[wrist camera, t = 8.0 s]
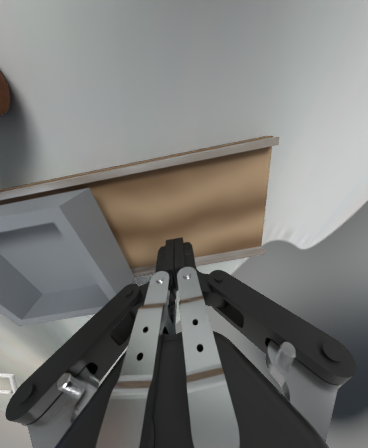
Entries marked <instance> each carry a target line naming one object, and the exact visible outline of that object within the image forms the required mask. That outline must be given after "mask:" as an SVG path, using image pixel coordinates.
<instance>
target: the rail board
mask: <svg viewBox="0 0 368 448" xmlns="http://www.w3.org/2000/svg"><path fill="white" fill-rule="evenodd" d="M278 143H279V137H273V136H263V137H259V138H254V139H249V140H244V141H239V142H234V143H229V144H224V145H219V146H214V147H209V148H204V149H199V150H194V151H189V152H184V153H179V154H174V155H170V156H165V157H160V158H155V159H150V160H145V161H140V162H135V163H130V164H125V165H120V166H115V167H110V168H105V169H100V170H95V171H90V172H86V173H81V174H76V175H71V176H66V177H61V178H56V179H51V180H46V181H41V182H36V183H31V184H26V185H21V186H16V187H11V188H6V189H1V190H0V205H5V204H10V203H15V202H20V201H25V200H30V199H35V198H40V197H45V196H50V195H55V194H60V193H65V192H70V191H75V190H81V189H86V188H90V190H91V192H92V194H93V196H94V197H95V198H96V200H97V204H98V206H99V208H100V210H101V212H102V214H103V216H104V218H105V220H106V222H107V223H108V225H109V227H110V229H111V231H112V233H113V235H114V237H115V239H116V241H117V243H118V245H119V247H120V249H121V251H122V253H123V255H124V257H125V259H126V260H127V262H128V265H129V267H130V269H131V271H132V273H133V275H134V277H135V276H141V275H147V274H153V273H155V269H156V262H157V255H158V250H159V249H160V247H162V246H165V244H166V240H169V239H175V238H180V237H183V241H184V243H185V242H190V243H191V244H192V247H193V253H194V258H195V264H196V266H199V265H205V264H211V263H217V262H223V261H229V260H234V259H240V258H246V257H252V256H257V255H263V254H265V250H264V249H263V248H262V247H261V243H262V234H263V224H264V215H265V206H266V196H267V187H268V178H269V168H270V159H271V150H272V146H275V145H278Z"/></svg>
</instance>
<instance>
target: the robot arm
mask: <svg viewBox="0 0 368 448" xmlns="http://www.w3.org/2000/svg"><path fill="white" fill-rule="evenodd" d="M177 290H179V298H180V302H179V309H180V318H181V326H182V332H180V333H178V334H176V329H175V324H176V307H177V298H176V291H177ZM206 305H208V306H212V307H213V308H214V309H215V310H216V311H217V312H218V313H219V314H220V315H221V316H223V317H224V318H225V319H226V320H227V321H228V322H230V323H231V324H232V325H233V326H234V327H235V328H236V329H237V330H239V331H240V332H241V333H242V334H243V335H244V336H246V337H247V338H248V339H249V340H250V341H251V342H253V343H254V344H255V345H256V346H257V347H258V348H259V349H260V350H262V351H263V352H264V353H265V354H266V357H265V358H266V359H265V360H266V365H267V368H268V370H269V372H270V373H271V375H272V376H273V377H274V378H275V379H276V380H277V382H278V383H279V385H280V386H281V388H282V391H283V393H284V396H283V395H282V394H281V393H280V392H279V390H278V389H276V387H275V386H274V385H273V384H272V383H271V382H270V381H269V380H268V379H267V378H266V377H265V376H264V375H263V374H262V373H261V372H260V371H259V370H258V369H257V368H256V367H255V366H254V365H253V364H252V363H251V362H250V361H249V360H248V359H247V358H246V357H245V356H244V355H243V354H242V353H241V351H240V350H239V349H237V347H236V346H235V345H234V344H232V342H231V341H230V340H229V339H227V338H226V337H224V336H223V335H221V334H219V333H217V332H214V331H212V327H211V324H210V320H209V316H208V313H207V309H206ZM119 322H120V323H119ZM127 346H128V348H127V351H126V352H125V353H124V354H123V355H122V356H121V358H120V359H119V360H118V362H117V363H116V365H115V366H114V367H113V369H112V370H111V371H110V373H109V374H108V375H107V377H106V378H105V380H104V381H103V382H102V384H101V385H100V386H99V382H100V380H101V379H102V378H103V377H104V375H105V374H106V373H107V372H108V370H109V369H110V368H111V366H112V365H113V364H114V363H115V361H116V360H117V359H118V357H119V356H120V355H121V354H122V352H123V351H124V350H125V348H126V347H127ZM355 373H356V363H355V361H354V358H353V356H352V355H351V353H350V352H349V351H348V350H347V349H346V347H344V346H343V345H342V344H341V343H340V342H339V341H337V340H336V339H334V338H332V337H331V336H329V335H328V334H326V333H324V332H323V331H321V330H319V329H318V328H316V327H314V326H313V325H311V324H310V323H308V322H306V321H305V320H303V319H301V318H300V317H298V316H296V315H295V314H293V313H292V312H290V311H288V310H287V309H285V308H283V307H282V306H280V305H278V304H277V303H275V302H274V301H272V300H270V299H269V298H267V297H265V296H264V295H262V294H260V293H259V292H257V291H256V290H254V289H252V288H251V287H249V286H247V285H246V284H244V283H242V282H241V281H239V280H238V279H236V278H234V277H233V276H231V275H229V274H228V273H226V272H224V271H222V270H215V271H213V272H211V273H210V274H203V273H200V272H199V271H198V270H197V269H196V264H195V258H194V253H193V247H192V244H191V243H190V242H185V243H184V241H183V237H180V238H175V239H169V240H166V244H165V246H162V247H160V249H159V250H158V255H157V262H156V269H155V274H154V275H153V276H152V277H151V279H150V281H149V282H148V283H146V284H144V285H142V286H140V287H139V286H138V285H137V284H129V285H127V286H125V287H124V288H123V289H122V290H121V291H120V292H118V293H117V294H116V295H115V296H114V297H113V298H112V299H111V300H110V301H109V302H108V303H107V304H106V305H105V306H104V307H103V308H102V309H101V310H100V311H98V312H97V313H96V314H95V315H94V316H93V317H92V318H91V319H90V320H89V321H88V322H87V323H86V324H85V325H84V326H83V327H82V328H81V329H79V330H78V331H77V332H76V333H75V334H74V335H73V336H72V337H71V338H70V339H69V340H68V341H67V342H66V343H65V344H64V345H63V346H62V347H61V348H59V349H58V350H57V351H56V352H55V353H54V354H53V355H52V356H51V357H50V358H49V359H48V360H47V361H46V362H45V363H44V364H43V365H42V366H40V367H39V368H38V369H37V370H36V371H35V372H34V373H33V374H32V375H31V376H30V377H29V378H28V379H27V380H26V381H25V382H24V383H23V384H22V385H21V386H20V387H19V388H18V389H17V390H16V392H15V393H14V395H13V396H12V398H11V399H10V401H9V403H8V406H7V409H6V418H7V419H8V420H9V421H13V422H18V423H21V424H22V425H24V426H27V427H28V430H29V434H30V438H31V442H32V446H33V448H329V447H328V446H327V444H326V443H325V442H326V437H327V433H328V428H329V424H330V420H331V416H332V411H333V407H334V403H335V398H336V394H337V390H338V388H339V387H340V386H341V385H342V384H344V383H345V382H346V381H347V380H349V379H350V378H351V377H352V376H353V375H354V374H355ZM98 386H99V388H98Z"/></svg>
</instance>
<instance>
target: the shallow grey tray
mask: <svg viewBox="0 0 368 448" xmlns="http://www.w3.org/2000/svg"><path fill="white" fill-rule="evenodd" d="M133 281H134V275H133V273H132V271H131V269H130V267H129V265H128V262H127V260H126V259H125V257H124V255H123V253H122V251H121V249H120V247H119V245H118V243H117V241H116V239H115V237H114V235H113V233H112V231H111V229H110V227H109V225H108V223H107V222H106V220H105V218H104V216H103V214H102V212H101V210H100V208H99V206H98V204H97V200H96V198H95V197H94V196H93V194H92V192H91V190H90V188H86V189H81V190H75V191H70V192H65V193H60V194H55V195H50V196H45V197H40V198H35V199H30V200H25V201H20V202H15V203H10V204H5V205H0V313H1V314H3V315H4V316H6V317H7V318H9V319H10V320H11V321H13V322H14V323H16V324H17V325H19V326H23V325H29V324H35V323H41V322H48V321H54V320H60V319H66V318H72V317H78V316H84V315H90V314H96V313H97V312H98V311H100V310H101V309H102V308H103V307H104V306H105V305H106V304H107V303H108V302H109V301H110V300H111V299H112V298H113V297H114V296H115V295H116V294H117V293H118V292H120V291H121V290H122V289H123V288H124V287H125V286H127V285H129V284H133Z"/></svg>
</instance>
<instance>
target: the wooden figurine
mask: <svg viewBox="0 0 368 448" xmlns="http://www.w3.org/2000/svg"><path fill="white" fill-rule="evenodd" d="M10 100H11V99H10V92H9V86H8V84H7V82H6V80H5V78H4V76H3V74H2V72H1V71H0V117H1V116H2V115H3V114H5V113H6V112H7V111H8V110H9V106H10Z"/></svg>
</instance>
